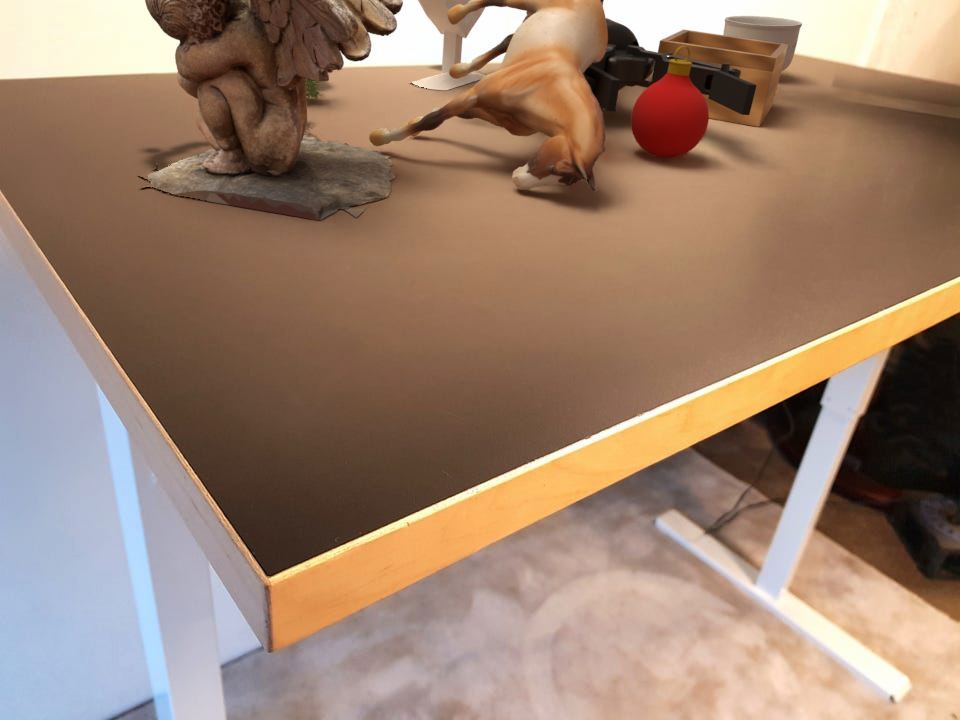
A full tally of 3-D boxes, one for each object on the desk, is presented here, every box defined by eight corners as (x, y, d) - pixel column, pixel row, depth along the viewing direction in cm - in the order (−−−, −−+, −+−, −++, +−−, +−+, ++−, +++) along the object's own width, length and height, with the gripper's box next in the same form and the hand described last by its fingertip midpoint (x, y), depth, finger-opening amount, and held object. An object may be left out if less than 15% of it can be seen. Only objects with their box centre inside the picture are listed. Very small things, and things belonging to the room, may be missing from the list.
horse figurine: (379, 219, 70) (599, 196, 59) (336, 146, 65) (567, 107, 54) (494, 37, 87) (678, -5, 77) (467, -32, 82) (660, -87, 72)
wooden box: (771, 107, 100) (788, 44, 97) (758, 127, 90) (776, 57, 86) (671, 90, 105) (683, 29, 101) (647, 107, 94) (659, 40, 90)
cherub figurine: (243, 129, 72) (228, -98, 63) (432, 160, 68) (444, -76, 59) (115, 184, 57) (70, -104, 48) (348, 228, 53) (347, -74, 44)
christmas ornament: (673, 145, 80) (695, 39, 75) (714, 166, 74) (740, 54, 69) (611, 146, 77) (629, 37, 72) (648, 169, 72) (671, 52, 67)
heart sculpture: (437, 93, 91) (447, -86, 82) (400, 85, 93) (406, -90, 84) (495, 74, 104) (509, -83, 94) (461, 68, 105) (472, -87, 96)
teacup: (776, 86, 114) (791, 26, 109) (703, 72, 118) (716, 14, 114) (799, 75, 124) (814, 20, 120) (732, 63, 129) (744, 9, 125)
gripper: (688, 91, 94) (791, 141, 76) (486, 84, 87) (547, 137, 70) (702, 23, 90) (814, 59, 73) (492, 11, 84) (558, 48, 66)
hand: (683, 98), depth 71 cm, fingers open, 13 cm apart
